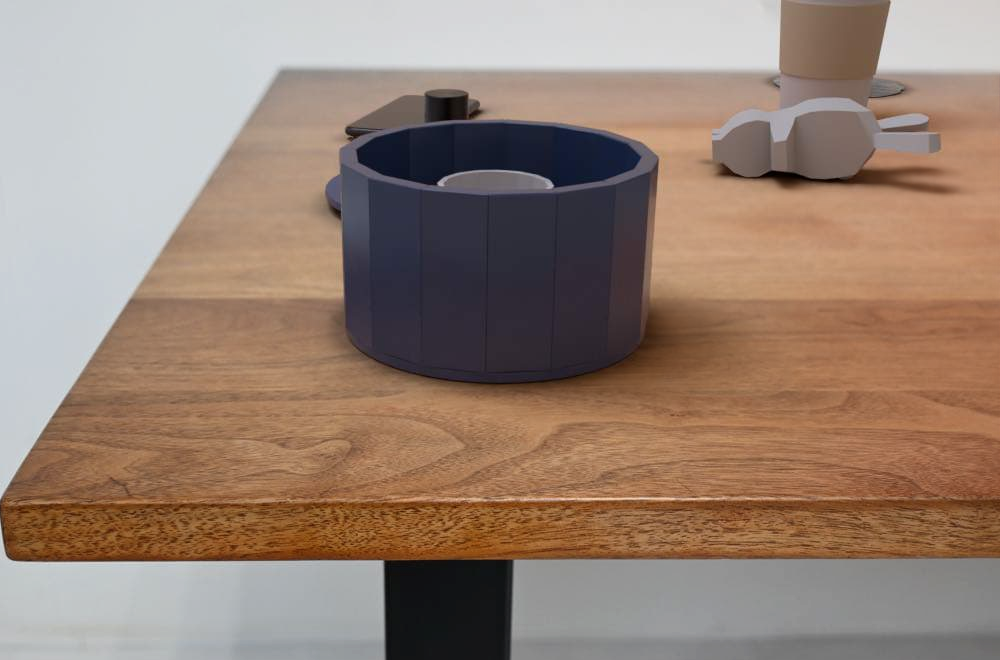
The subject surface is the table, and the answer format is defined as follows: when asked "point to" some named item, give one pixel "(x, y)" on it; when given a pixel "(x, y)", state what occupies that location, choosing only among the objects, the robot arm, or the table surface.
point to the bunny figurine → (816, 139)
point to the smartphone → (395, 115)
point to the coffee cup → (829, 49)
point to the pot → (497, 249)
